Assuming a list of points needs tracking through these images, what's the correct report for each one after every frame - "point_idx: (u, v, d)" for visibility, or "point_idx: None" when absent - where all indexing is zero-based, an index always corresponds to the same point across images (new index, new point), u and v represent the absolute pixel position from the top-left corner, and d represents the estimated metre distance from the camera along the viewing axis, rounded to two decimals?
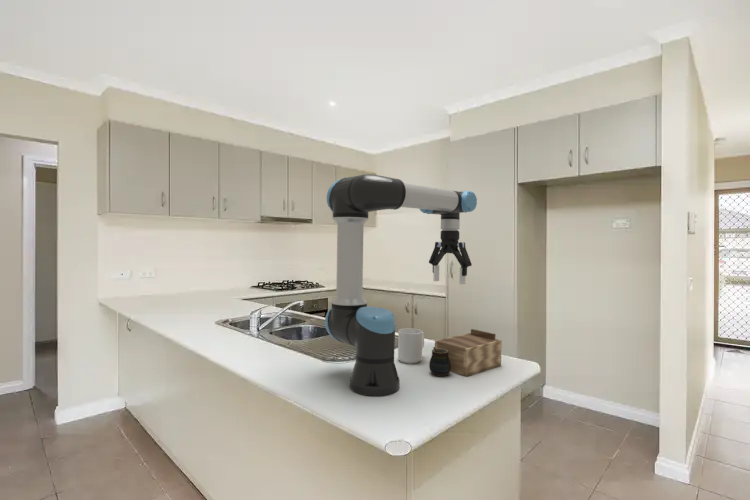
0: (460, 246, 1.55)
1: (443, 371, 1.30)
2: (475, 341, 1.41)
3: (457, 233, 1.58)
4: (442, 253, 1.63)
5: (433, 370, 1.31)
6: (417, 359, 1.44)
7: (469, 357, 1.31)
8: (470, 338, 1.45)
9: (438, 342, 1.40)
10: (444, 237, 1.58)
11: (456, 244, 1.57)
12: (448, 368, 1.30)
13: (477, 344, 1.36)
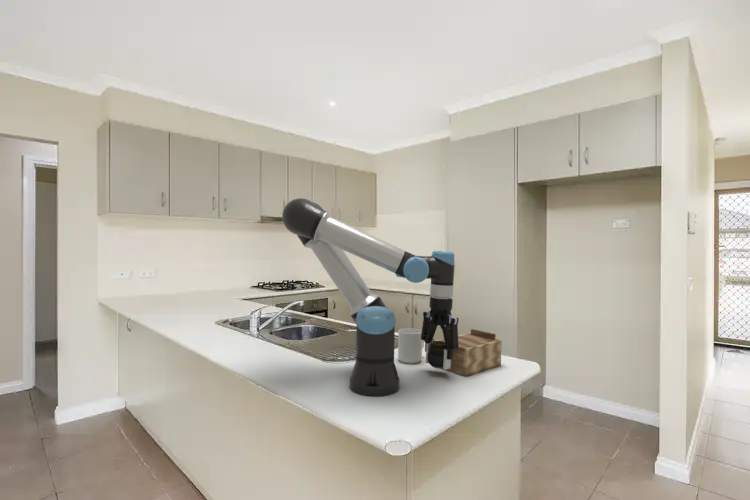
0: (451, 323, 1.27)
1: (441, 363, 1.29)
2: (475, 341, 1.41)
3: (450, 302, 1.30)
4: (433, 325, 1.34)
5: (431, 362, 1.31)
6: (417, 359, 1.44)
7: (469, 357, 1.31)
8: (470, 338, 1.45)
9: None
10: (434, 307, 1.30)
11: (448, 316, 1.29)
12: None
13: (477, 344, 1.36)
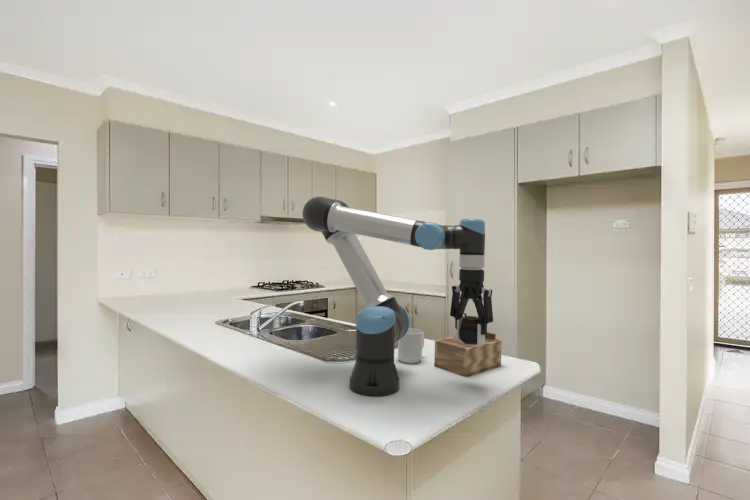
0: (485, 295, 1.18)
1: (475, 339, 1.20)
2: None
3: (482, 273, 1.20)
4: (464, 300, 1.24)
5: (464, 338, 1.21)
6: (417, 359, 1.44)
7: (469, 357, 1.31)
8: None
9: (438, 342, 1.40)
10: (464, 279, 1.20)
11: (480, 288, 1.19)
12: None
13: None
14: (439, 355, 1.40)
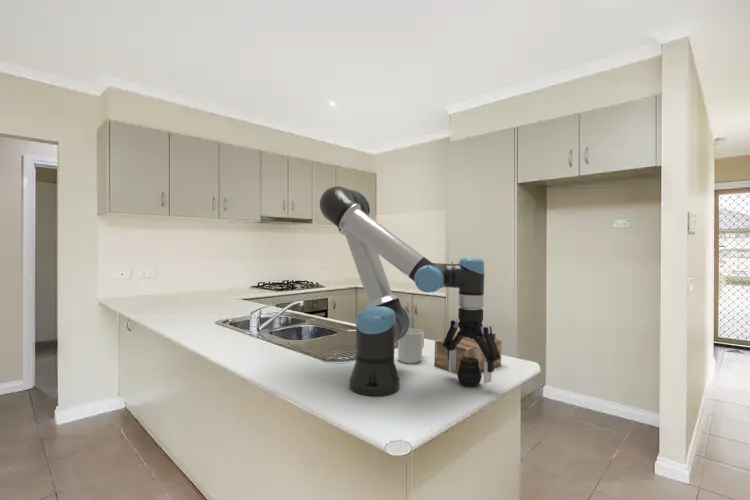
0: (485, 332, 1.17)
1: (473, 381, 1.20)
2: (475, 341, 1.41)
3: (481, 313, 1.20)
4: (460, 336, 1.25)
5: (462, 380, 1.22)
6: (417, 359, 1.44)
7: None
8: None
9: (438, 342, 1.40)
10: (464, 318, 1.21)
11: (479, 328, 1.20)
12: (478, 378, 1.21)
13: (477, 344, 1.36)
14: (439, 355, 1.40)
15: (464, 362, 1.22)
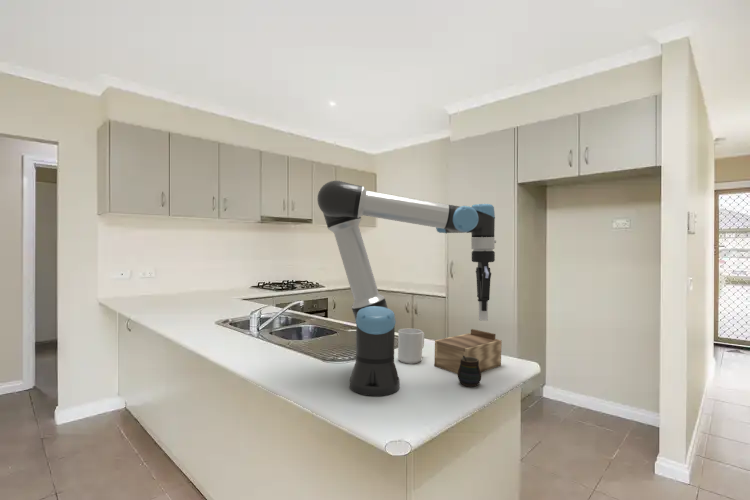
0: (482, 276, 1.29)
1: (473, 381, 1.20)
2: (475, 341, 1.41)
3: (485, 254, 1.30)
4: None
5: (462, 380, 1.22)
6: (417, 359, 1.44)
7: None
8: (470, 338, 1.45)
9: (438, 342, 1.40)
10: (472, 259, 1.33)
11: (483, 268, 1.30)
12: (478, 379, 1.21)
13: (477, 344, 1.36)
14: (439, 355, 1.40)
15: (464, 362, 1.22)
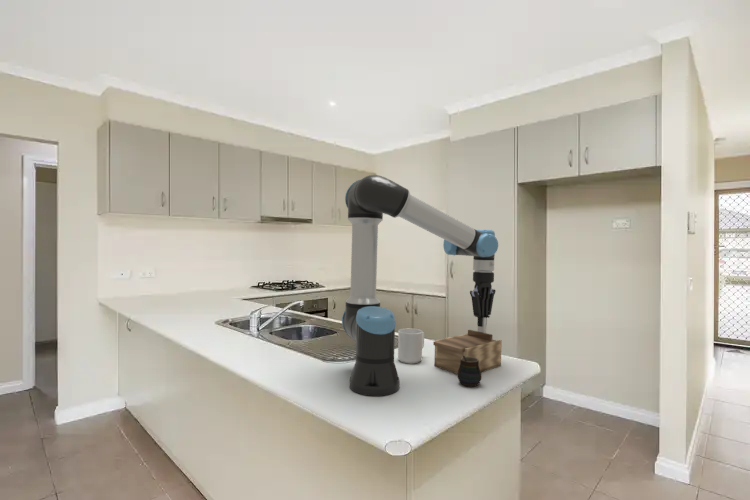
0: None
1: (473, 381, 1.20)
2: (472, 342, 1.39)
3: (477, 275, 1.44)
4: None
5: (462, 380, 1.22)
6: (417, 359, 1.44)
7: None
8: (467, 339, 1.44)
9: (434, 343, 1.39)
10: None
11: (474, 287, 1.45)
12: (478, 379, 1.21)
13: (474, 345, 1.35)
14: (439, 355, 1.40)
15: (464, 362, 1.22)
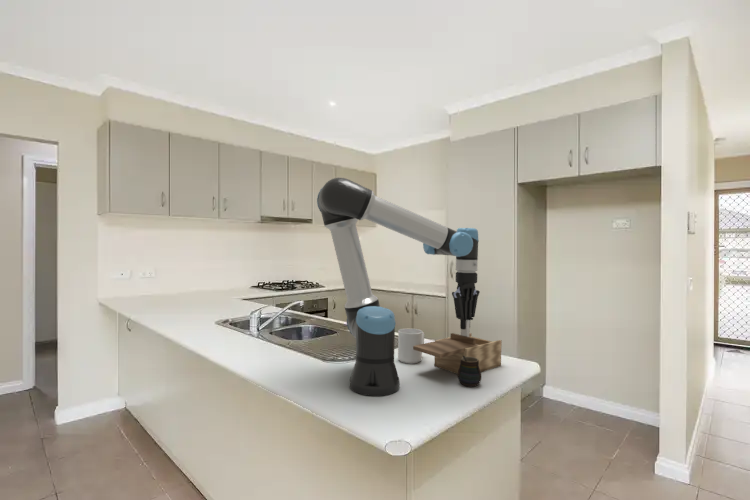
0: None
1: (473, 381, 1.20)
2: (453, 346, 1.33)
3: (460, 275, 1.38)
4: None
5: (462, 380, 1.22)
6: (417, 359, 1.44)
7: None
8: (449, 343, 1.37)
9: (414, 347, 1.32)
10: None
11: (457, 288, 1.39)
12: (478, 379, 1.21)
13: (455, 349, 1.29)
14: None
15: (464, 362, 1.22)
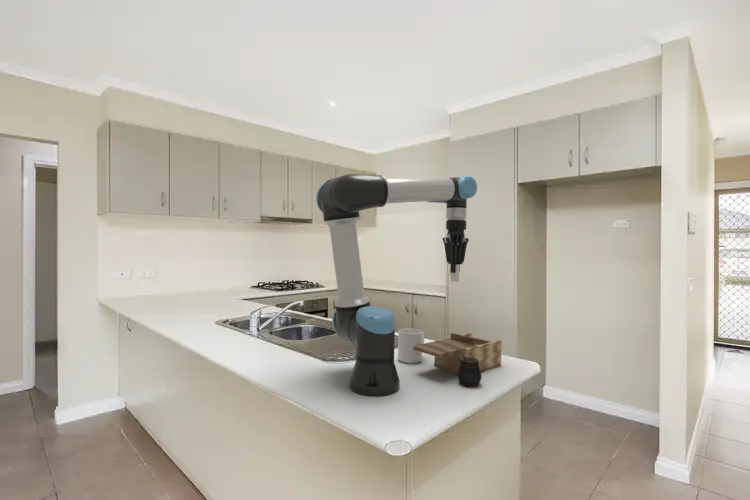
0: None
1: (473, 381, 1.20)
2: (453, 346, 1.33)
3: (450, 222, 1.49)
4: None
5: (462, 380, 1.22)
6: (417, 359, 1.44)
7: None
8: (449, 343, 1.37)
9: (414, 347, 1.32)
10: None
11: None
12: (478, 379, 1.21)
13: (455, 349, 1.29)
14: None
15: (464, 362, 1.22)
